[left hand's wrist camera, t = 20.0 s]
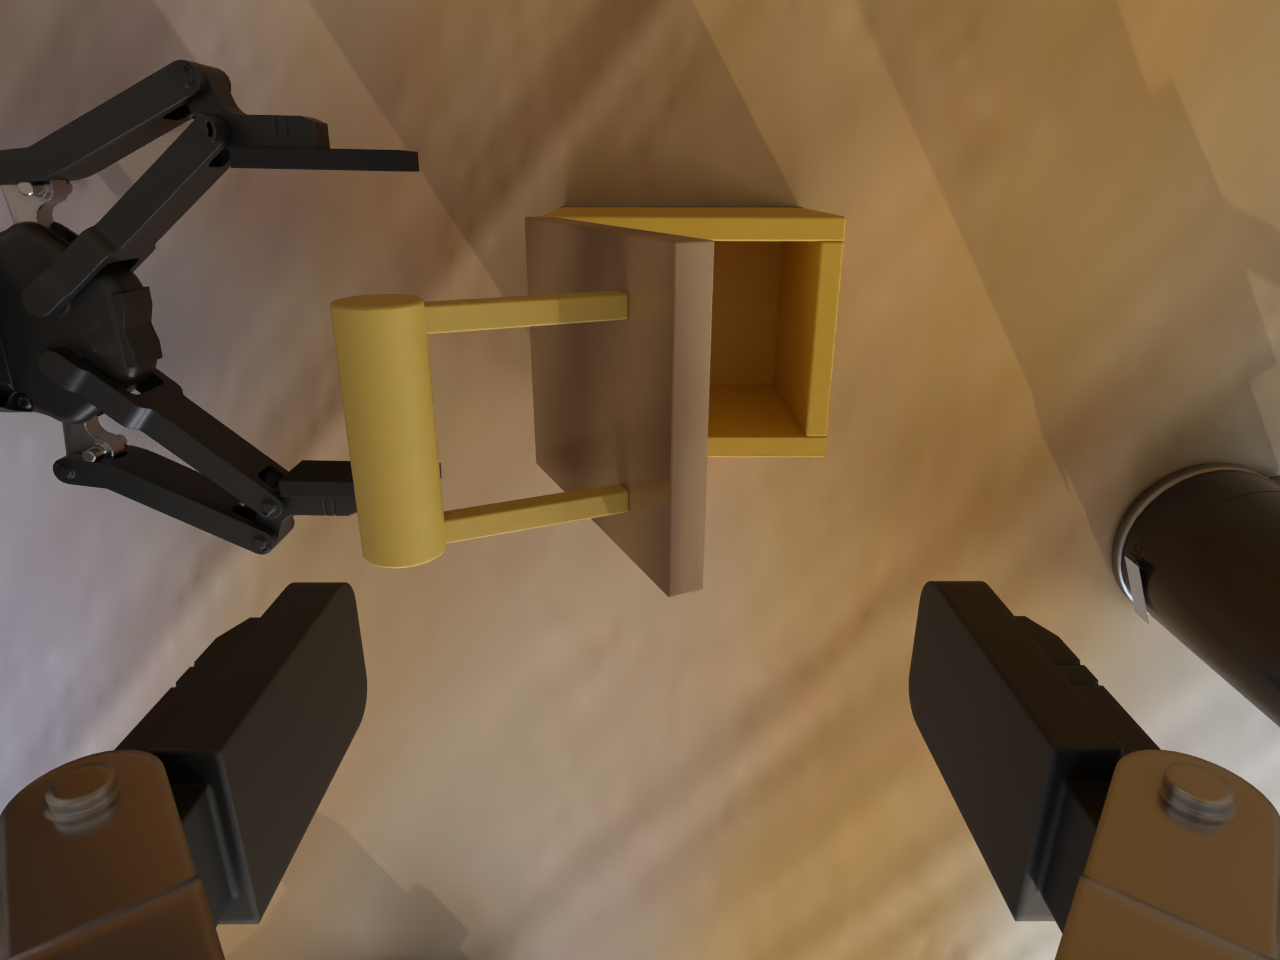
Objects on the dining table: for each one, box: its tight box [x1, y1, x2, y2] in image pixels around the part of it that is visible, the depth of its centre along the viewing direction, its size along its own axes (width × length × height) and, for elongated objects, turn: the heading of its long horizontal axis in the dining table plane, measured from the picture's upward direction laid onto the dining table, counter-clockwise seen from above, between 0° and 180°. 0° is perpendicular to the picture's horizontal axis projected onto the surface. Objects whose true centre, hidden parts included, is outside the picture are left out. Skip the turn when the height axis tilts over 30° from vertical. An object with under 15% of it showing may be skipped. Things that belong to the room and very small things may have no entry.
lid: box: [330, 217, 714, 597], centre depth 24 cm, size 12×10×9 cm
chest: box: [542, 206, 846, 457], centre depth 36 cm, size 11×10×10 cm
